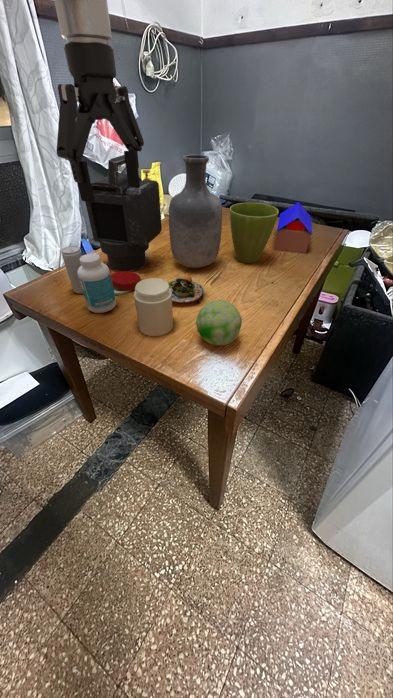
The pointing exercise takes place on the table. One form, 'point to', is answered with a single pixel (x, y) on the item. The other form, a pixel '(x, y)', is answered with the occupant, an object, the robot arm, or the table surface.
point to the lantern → (124, 217)
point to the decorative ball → (218, 322)
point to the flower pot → (251, 229)
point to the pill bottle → (96, 284)
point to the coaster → (120, 291)
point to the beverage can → (73, 266)
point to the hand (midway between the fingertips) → (113, 193)
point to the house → (294, 229)
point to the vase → (195, 217)
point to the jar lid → (125, 280)
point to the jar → (154, 306)
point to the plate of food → (185, 289)
